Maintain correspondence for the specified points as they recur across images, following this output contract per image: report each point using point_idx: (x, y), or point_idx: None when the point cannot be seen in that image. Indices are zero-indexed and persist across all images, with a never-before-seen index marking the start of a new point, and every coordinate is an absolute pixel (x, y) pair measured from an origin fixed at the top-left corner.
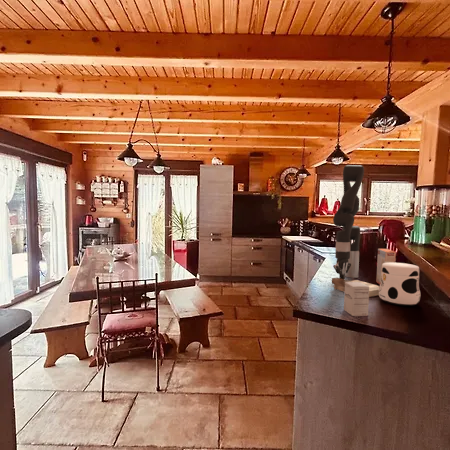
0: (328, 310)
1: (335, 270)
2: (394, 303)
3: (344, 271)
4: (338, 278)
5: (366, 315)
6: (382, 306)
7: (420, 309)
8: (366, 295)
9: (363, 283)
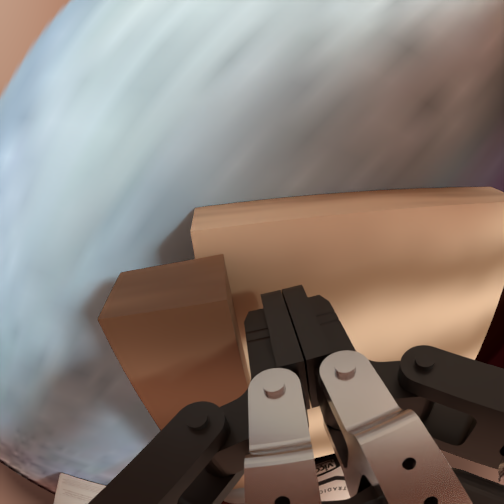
0: (13, 452)
1: (124, 470)
2: None
3: (337, 457)
4: (201, 359)
5: None
6: None
7: None
8: None
9: (466, 316)
